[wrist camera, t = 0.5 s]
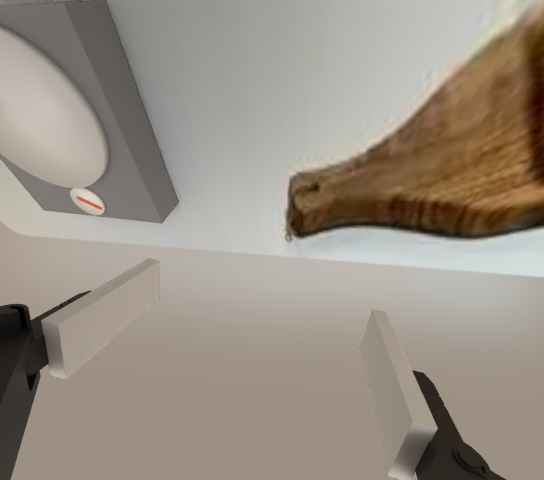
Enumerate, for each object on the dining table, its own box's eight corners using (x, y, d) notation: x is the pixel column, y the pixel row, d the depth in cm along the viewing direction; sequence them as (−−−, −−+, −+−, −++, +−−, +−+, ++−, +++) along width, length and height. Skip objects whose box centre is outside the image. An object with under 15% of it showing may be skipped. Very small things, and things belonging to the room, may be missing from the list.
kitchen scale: (-61, 9, 21) (-140, 14, 18) (105, 0, 19) (49, 2, 15) (68, 192, 34) (36, 215, 30) (178, 202, 31) (157, 229, 28)
